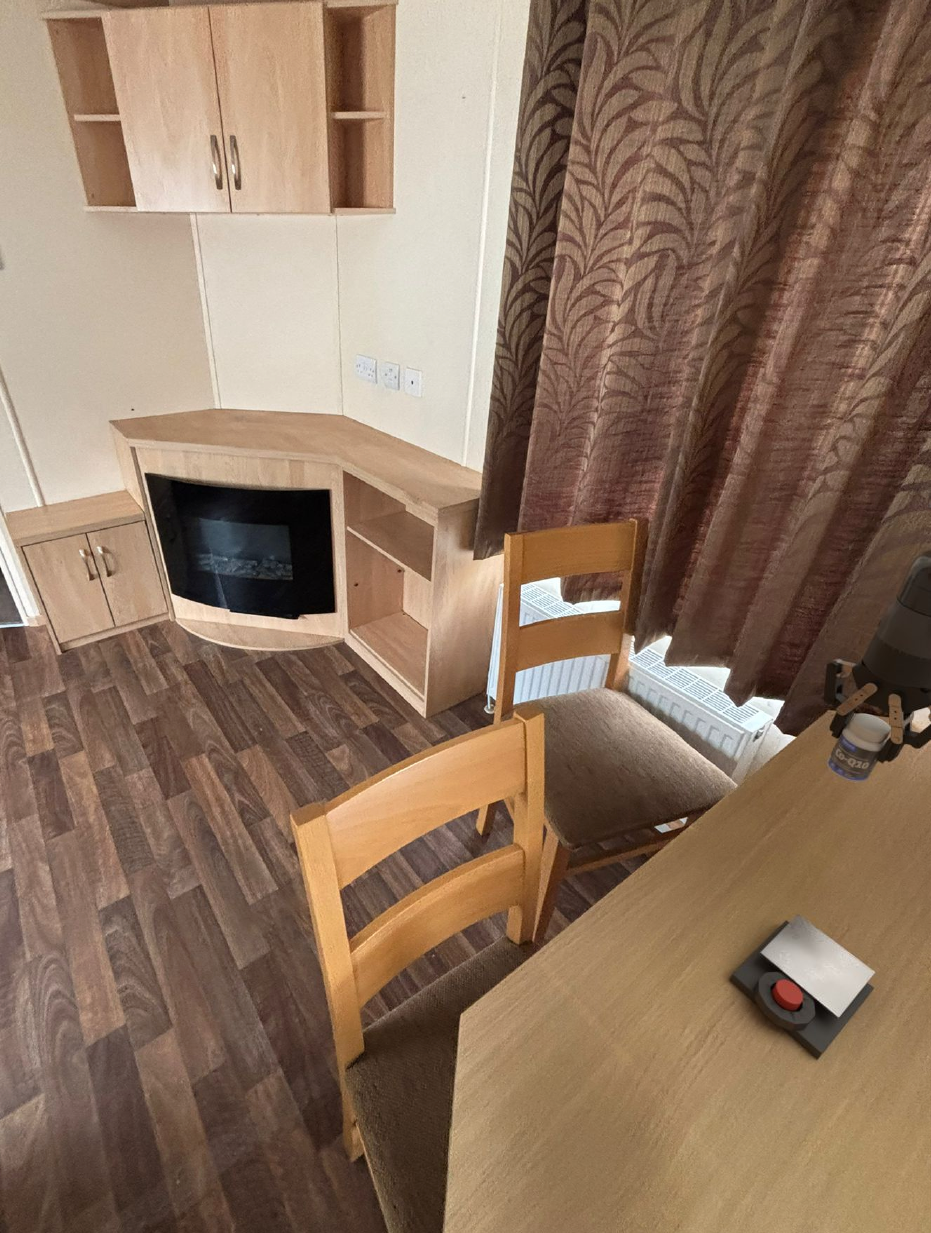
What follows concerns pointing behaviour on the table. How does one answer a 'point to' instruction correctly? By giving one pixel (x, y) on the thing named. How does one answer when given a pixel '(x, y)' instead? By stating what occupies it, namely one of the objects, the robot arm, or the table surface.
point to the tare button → (787, 995)
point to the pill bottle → (858, 748)
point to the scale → (809, 1019)
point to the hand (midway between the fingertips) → (859, 746)
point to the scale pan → (818, 965)
